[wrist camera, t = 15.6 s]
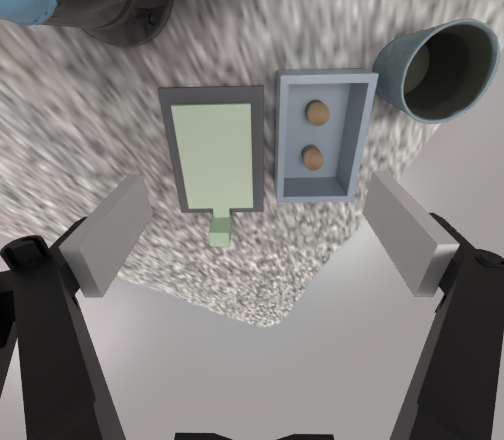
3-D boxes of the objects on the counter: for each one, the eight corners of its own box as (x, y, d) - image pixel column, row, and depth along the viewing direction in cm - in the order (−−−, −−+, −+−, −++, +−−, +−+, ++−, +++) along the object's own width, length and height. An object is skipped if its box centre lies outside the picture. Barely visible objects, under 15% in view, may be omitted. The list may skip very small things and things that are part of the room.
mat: (182, 209, 54) (181, 212, 53) (159, 87, 42) (157, 88, 41) (263, 209, 53) (263, 211, 52) (263, 85, 41) (263, 86, 40)
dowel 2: (300, 161, 47) (304, 170, 44) (302, 144, 45) (305, 152, 42) (318, 161, 47) (322, 170, 44) (320, 144, 45) (325, 152, 42)
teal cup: (390, 118, 44) (430, 141, 34) (351, 71, 40) (382, 81, 30) (451, 64, 39) (517, 71, 29) (413, 6, 36) (474, -9, 26)
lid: (194, 225, 55) (187, 246, 49) (173, 103, 42) (160, 112, 36) (253, 225, 54) (253, 246, 49) (250, 102, 42) (249, 111, 36)
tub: (274, 181, 50) (276, 202, 43) (276, 70, 40) (280, 75, 33) (339, 180, 50) (352, 201, 43) (358, 68, 40) (378, 73, 33)
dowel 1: (304, 119, 43) (308, 126, 40) (305, 99, 42) (310, 104, 38) (323, 119, 43) (328, 125, 40) (325, 99, 41) (331, 104, 38)
